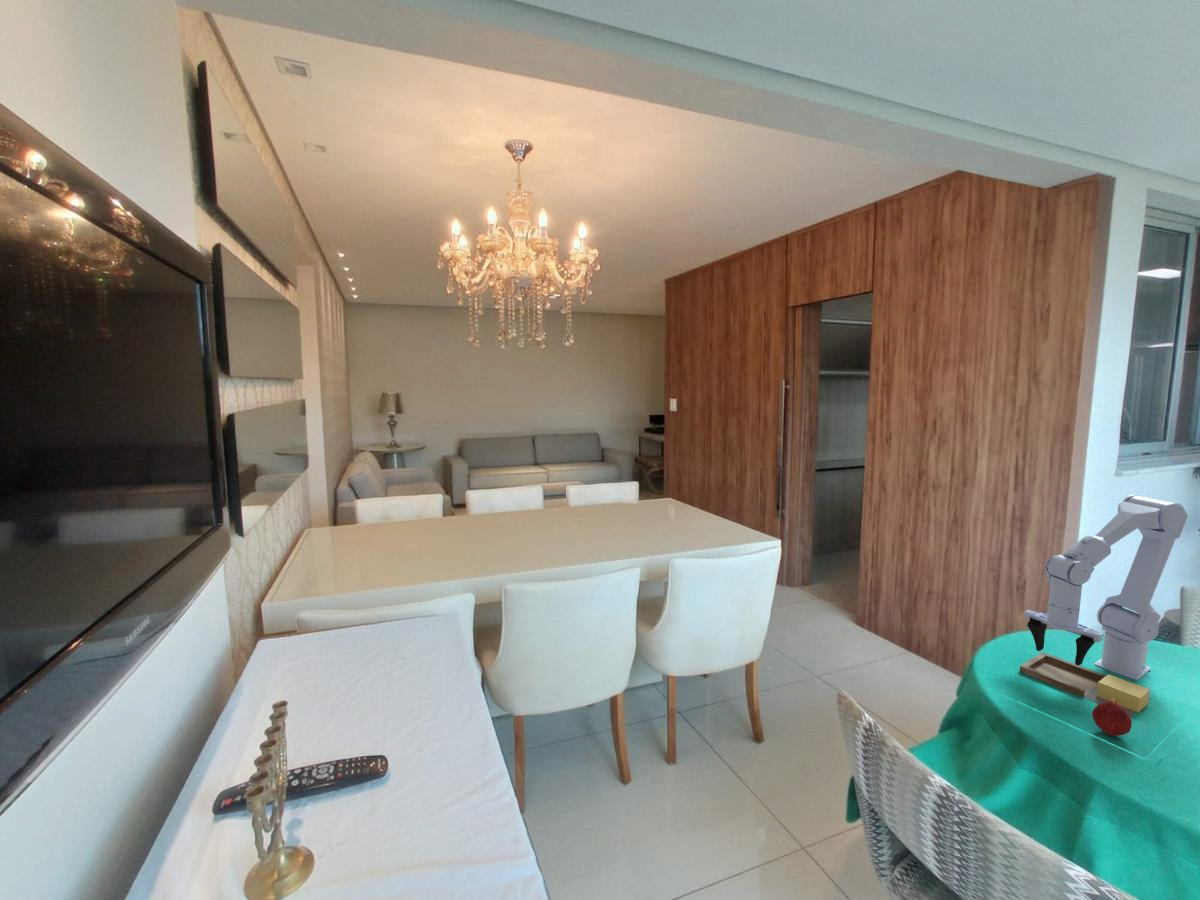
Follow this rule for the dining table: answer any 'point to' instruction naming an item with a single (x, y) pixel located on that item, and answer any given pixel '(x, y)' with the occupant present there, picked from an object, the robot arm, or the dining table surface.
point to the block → (1123, 692)
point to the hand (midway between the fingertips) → (1058, 656)
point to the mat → (1103, 700)
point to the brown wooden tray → (1062, 674)
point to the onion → (1112, 718)
